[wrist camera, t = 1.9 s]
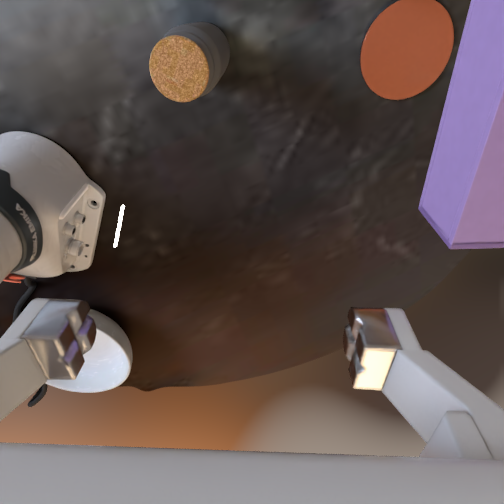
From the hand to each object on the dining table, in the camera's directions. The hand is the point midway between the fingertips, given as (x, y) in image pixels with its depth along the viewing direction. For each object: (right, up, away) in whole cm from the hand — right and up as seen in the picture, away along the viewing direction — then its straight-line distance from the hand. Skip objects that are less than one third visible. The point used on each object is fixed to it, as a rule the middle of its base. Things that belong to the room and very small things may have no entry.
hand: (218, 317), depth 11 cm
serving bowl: (-31, -13, +56) cm, 65 cm away
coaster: (+18, +25, +28) cm, 42 cm away
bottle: (-4, +25, +29) cm, 38 cm away
